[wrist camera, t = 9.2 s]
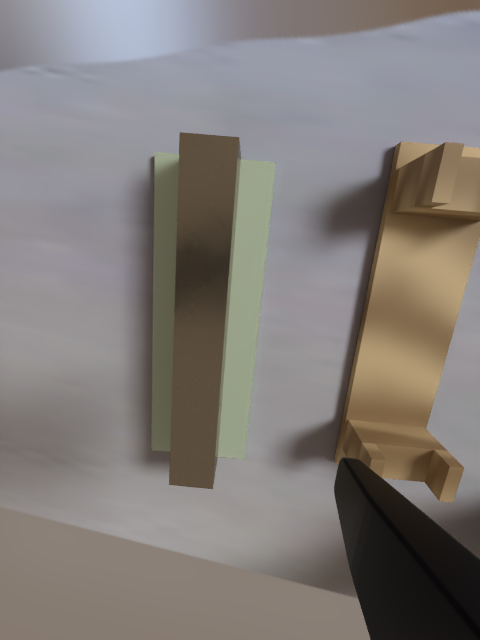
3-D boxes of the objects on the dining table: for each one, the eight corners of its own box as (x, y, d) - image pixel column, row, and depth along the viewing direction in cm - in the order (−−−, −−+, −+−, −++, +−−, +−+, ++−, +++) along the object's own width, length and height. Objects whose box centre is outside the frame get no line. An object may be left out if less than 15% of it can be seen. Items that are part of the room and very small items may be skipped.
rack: (409, 465, 21) (450, 520, 17) (334, 458, 21) (356, 511, 17) (494, 153, 16) (584, 118, 12) (395, 145, 16) (449, 107, 12)
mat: (244, 455, 21) (244, 459, 21) (152, 446, 21) (151, 450, 21) (275, 164, 16) (276, 162, 16) (156, 154, 17) (154, 152, 16)
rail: (217, 455, 21) (212, 489, 18) (180, 452, 21) (169, 484, 18) (241, 158, 16) (239, 137, 13) (192, 154, 16) (179, 132, 13)
